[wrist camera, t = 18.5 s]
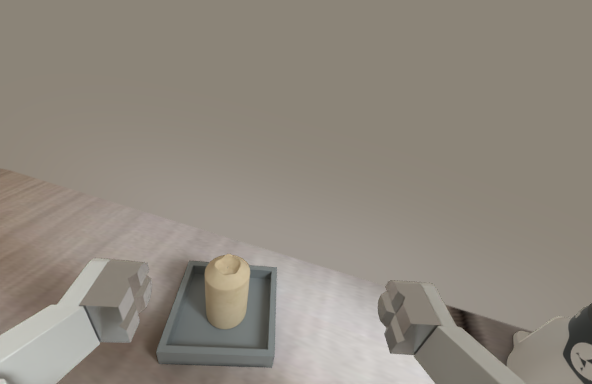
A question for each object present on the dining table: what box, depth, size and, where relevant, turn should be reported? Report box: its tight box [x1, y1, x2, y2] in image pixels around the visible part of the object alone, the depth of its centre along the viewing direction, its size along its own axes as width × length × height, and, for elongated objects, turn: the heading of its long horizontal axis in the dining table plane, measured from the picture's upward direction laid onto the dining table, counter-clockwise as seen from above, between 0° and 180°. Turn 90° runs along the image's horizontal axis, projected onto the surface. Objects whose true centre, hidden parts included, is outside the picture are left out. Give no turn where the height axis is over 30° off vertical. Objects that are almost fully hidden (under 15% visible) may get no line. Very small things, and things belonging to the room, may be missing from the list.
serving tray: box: [156, 261, 277, 368], centre depth 39 cm, size 14×14×3 cm
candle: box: [205, 254, 250, 329], centre depth 37 cm, size 6×6×10 cm
